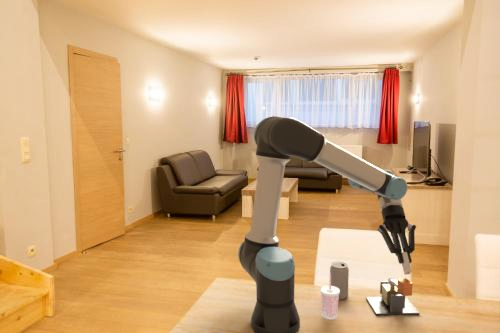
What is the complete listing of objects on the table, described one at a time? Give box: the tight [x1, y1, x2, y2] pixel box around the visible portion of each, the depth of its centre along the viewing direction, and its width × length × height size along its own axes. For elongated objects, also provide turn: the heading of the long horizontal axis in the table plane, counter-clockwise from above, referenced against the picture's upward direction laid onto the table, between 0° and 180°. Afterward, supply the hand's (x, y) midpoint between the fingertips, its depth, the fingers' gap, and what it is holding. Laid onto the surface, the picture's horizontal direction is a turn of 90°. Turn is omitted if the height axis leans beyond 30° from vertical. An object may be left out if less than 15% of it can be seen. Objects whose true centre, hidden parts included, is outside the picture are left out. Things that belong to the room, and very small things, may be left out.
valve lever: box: [387, 277, 414, 297], centre depth 125 cm, size 10×3×4 cm, turn 9°
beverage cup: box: [320, 274, 340, 321], centre depth 124 cm, size 6×6×14 cm
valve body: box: [365, 280, 421, 317], centre depth 129 cm, size 14×11×8 cm
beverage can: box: [329, 261, 350, 301], centre depth 137 cm, size 6×6×12 cm
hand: (408, 272), depth 124 cm, fingers closed
